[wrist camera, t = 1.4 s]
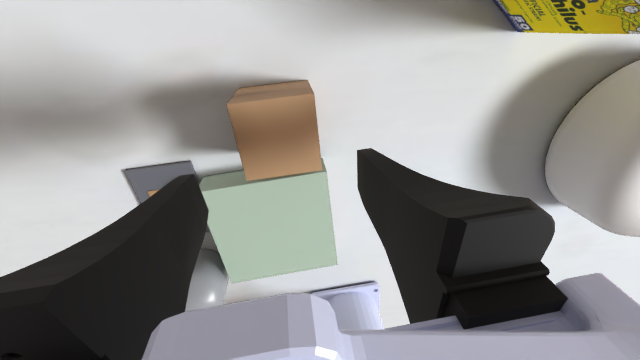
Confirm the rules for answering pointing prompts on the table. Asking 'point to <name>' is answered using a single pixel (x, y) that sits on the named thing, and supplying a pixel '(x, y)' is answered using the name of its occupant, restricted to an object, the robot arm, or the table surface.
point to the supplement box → (573, 16)
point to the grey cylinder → (207, 281)
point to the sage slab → (270, 223)
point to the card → (157, 178)
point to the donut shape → (601, 154)
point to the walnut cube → (276, 129)
